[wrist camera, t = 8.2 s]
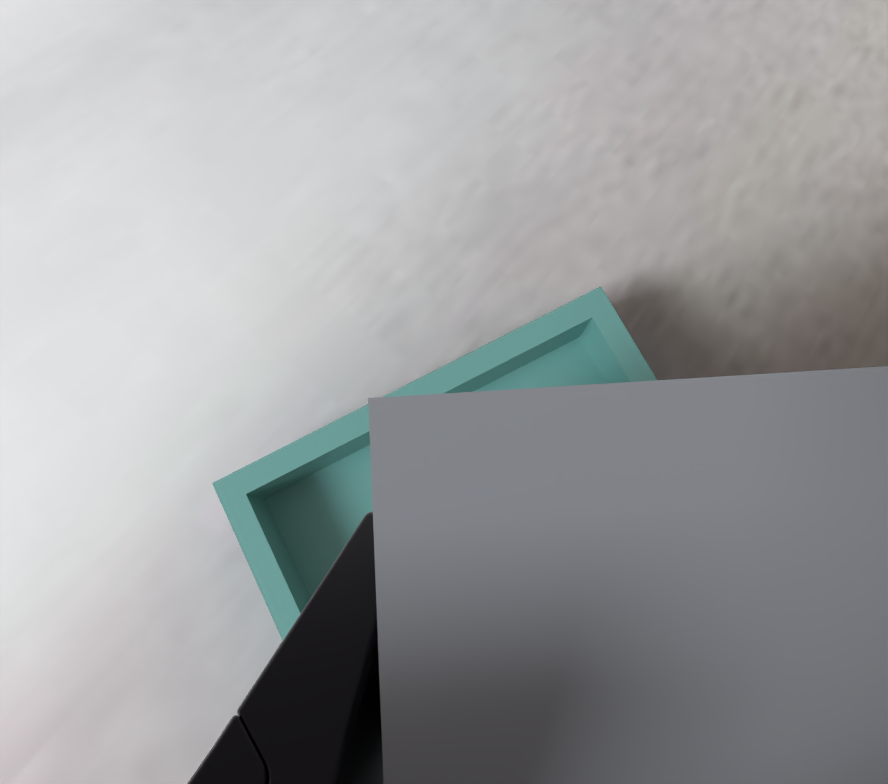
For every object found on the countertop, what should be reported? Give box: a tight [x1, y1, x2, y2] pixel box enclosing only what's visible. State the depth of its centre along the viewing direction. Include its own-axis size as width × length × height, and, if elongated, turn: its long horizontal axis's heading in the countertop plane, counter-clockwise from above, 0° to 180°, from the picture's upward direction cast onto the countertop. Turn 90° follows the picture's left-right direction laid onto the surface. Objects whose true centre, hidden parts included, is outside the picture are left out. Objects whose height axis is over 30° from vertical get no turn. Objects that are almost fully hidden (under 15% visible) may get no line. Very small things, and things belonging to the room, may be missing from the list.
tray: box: [212, 287, 657, 640], centre depth 20 cm, size 12×12×3 cm
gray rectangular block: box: [368, 366, 888, 784], centre depth 11 cm, size 5×5×11 cm
